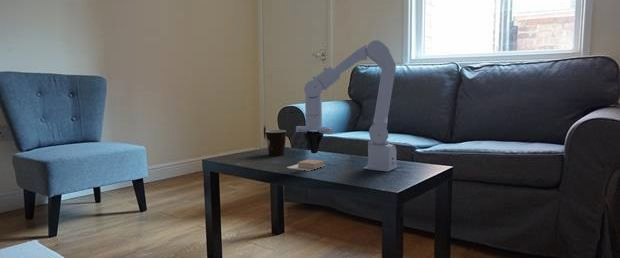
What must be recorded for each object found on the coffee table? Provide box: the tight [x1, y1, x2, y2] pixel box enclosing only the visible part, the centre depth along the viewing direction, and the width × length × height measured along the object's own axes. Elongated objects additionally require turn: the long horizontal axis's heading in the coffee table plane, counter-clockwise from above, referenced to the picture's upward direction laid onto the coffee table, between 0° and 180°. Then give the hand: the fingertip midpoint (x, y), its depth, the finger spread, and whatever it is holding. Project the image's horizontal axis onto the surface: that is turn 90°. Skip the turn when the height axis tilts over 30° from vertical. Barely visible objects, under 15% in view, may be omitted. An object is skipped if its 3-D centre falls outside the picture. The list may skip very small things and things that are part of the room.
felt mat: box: [286, 163, 326, 172], centre depth 164 cm, size 10×10×1 cm
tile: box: [297, 158, 325, 170], centre depth 163 cm, size 2×6×7 cm
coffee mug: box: [265, 129, 287, 157], centre depth 188 cm, size 12×9×10 cm
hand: (314, 152), depth 162 cm, fingers closed
